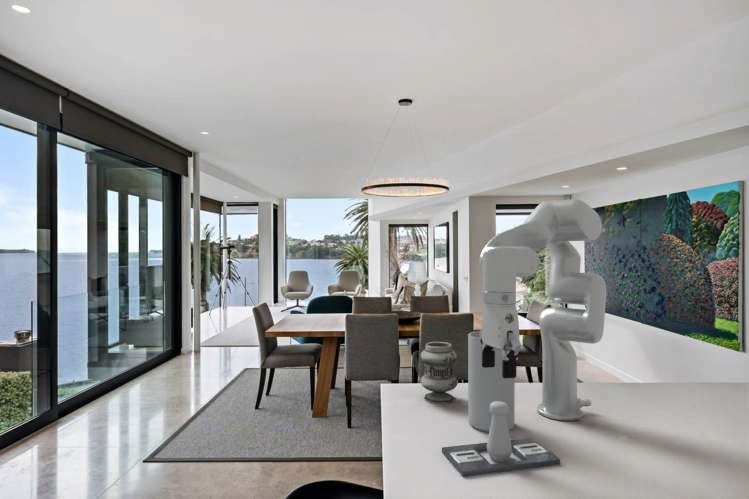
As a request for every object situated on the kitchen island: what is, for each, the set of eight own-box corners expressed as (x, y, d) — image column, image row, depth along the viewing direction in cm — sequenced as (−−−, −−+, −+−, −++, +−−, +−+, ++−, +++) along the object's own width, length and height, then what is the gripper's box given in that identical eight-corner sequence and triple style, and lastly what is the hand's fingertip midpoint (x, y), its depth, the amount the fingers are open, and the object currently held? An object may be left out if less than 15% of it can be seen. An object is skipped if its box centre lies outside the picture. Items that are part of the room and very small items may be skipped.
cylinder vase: (483, 413, 135) (483, 329, 135) (522, 424, 126) (522, 335, 126) (459, 424, 126) (459, 335, 126) (499, 437, 117) (499, 341, 117)
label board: (530, 442, 114) (530, 436, 114) (560, 464, 103) (560, 457, 103) (441, 452, 109) (441, 446, 109) (462, 476, 97) (462, 469, 97)
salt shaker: (513, 465, 102) (513, 408, 102) (487, 462, 103) (487, 406, 103) (510, 453, 108) (510, 399, 108) (486, 451, 109) (486, 398, 109)
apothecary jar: (421, 392, 155) (421, 339, 155) (456, 393, 153) (456, 340, 153) (420, 404, 143) (419, 347, 143) (458, 405, 141) (458, 348, 141)
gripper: (534, 302, 98) (533, 381, 98) (495, 295, 115) (494, 363, 114) (503, 303, 96) (502, 383, 96) (468, 295, 113) (467, 364, 113)
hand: (498, 372), depth 105 cm, fingers open, 9 cm apart
